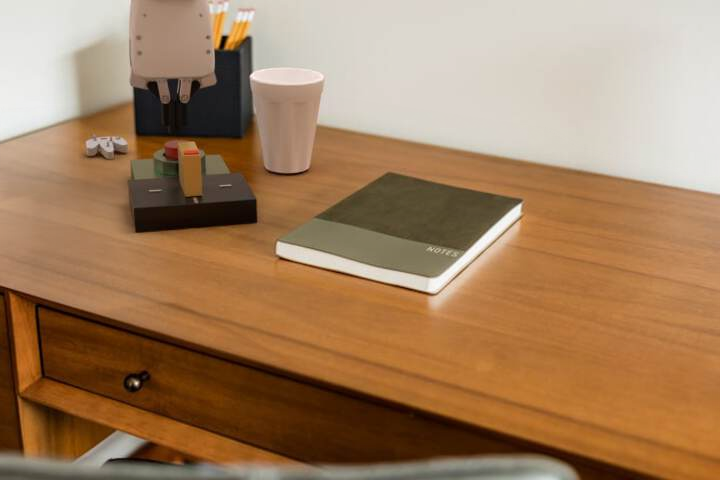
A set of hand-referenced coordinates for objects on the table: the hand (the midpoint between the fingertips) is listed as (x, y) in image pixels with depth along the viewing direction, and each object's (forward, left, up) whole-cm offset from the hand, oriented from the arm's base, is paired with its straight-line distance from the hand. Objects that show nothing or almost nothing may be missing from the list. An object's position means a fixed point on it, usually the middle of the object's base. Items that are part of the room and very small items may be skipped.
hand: (175, 131), depth 115 cm
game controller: (-9, +18, -7) cm, 21 cm away
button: (0, 0, -4) cm, 4 cm away
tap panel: (0, -11, -7) cm, 13 cm away
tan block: (0, -11, -4) cm, 12 cm away
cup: (+15, +3, -7) cm, 17 cm away
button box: (0, 0, -7) cm, 7 cm away
